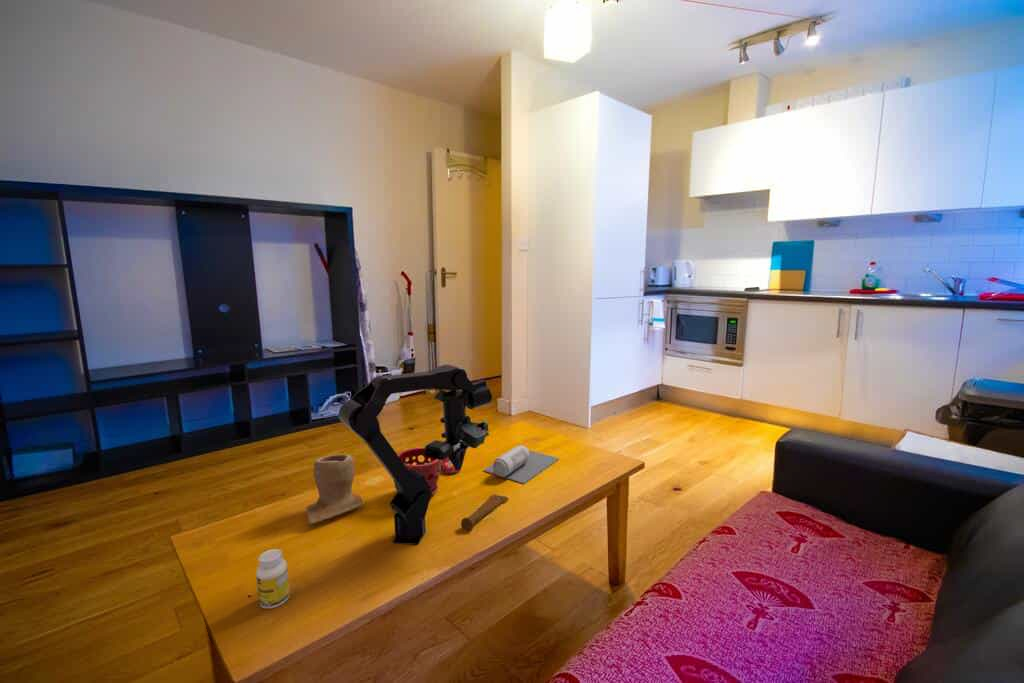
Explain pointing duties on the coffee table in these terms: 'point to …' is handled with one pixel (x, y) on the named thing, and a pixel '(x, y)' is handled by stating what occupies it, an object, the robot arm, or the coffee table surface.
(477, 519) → the primitive tool
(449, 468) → the race car
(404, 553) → the coffee table surface
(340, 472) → the stone cup
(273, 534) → the coffee table surface
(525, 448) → the energy drink can
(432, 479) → the plant pot
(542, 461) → the mat
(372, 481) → the coffee table surface
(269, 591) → the supplement bottle
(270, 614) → the coffee table surface
